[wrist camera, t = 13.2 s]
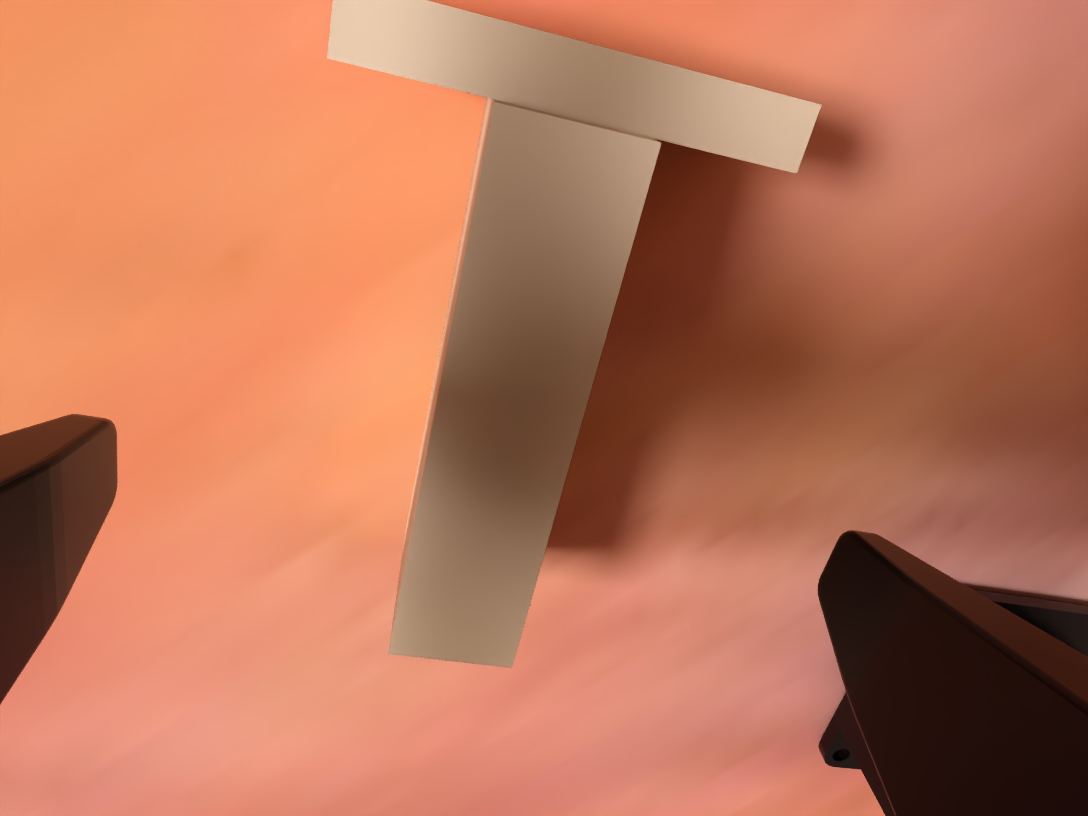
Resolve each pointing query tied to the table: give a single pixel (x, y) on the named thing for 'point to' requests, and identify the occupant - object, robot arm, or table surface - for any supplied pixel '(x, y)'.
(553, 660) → the table surface
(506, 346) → the pusher
